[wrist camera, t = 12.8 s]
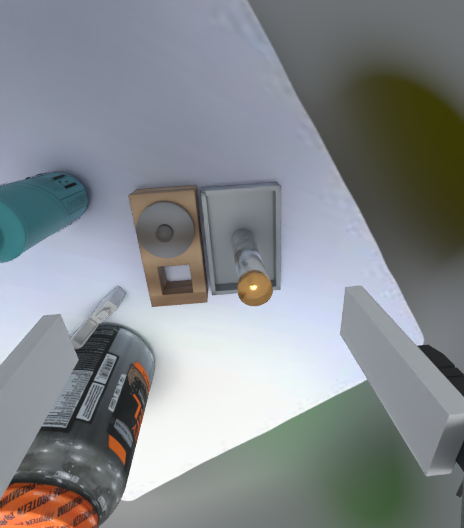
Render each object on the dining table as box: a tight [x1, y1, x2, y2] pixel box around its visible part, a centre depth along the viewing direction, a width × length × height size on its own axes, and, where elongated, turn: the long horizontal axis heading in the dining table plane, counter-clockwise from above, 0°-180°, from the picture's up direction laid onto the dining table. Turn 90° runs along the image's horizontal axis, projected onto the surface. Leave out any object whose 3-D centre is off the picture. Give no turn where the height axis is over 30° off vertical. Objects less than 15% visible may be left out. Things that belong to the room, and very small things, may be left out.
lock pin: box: [232, 229, 273, 306], centre depth 35 cm, size 3×3×15 cm
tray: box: [201, 182, 281, 295], centre depth 42 cm, size 15×10×3 cm
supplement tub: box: [0, 326, 154, 528], centre depth 39 cm, size 16×16×26 cm
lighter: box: [70, 286, 126, 349], centre depth 43 cm, size 7×2×8 cm, turn 131°
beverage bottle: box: [0, 171, 88, 263], centre depth 30 cm, size 6×7×20 cm
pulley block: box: [128, 185, 208, 307], centre depth 40 cm, size 16×8×7 cm, turn 4°
